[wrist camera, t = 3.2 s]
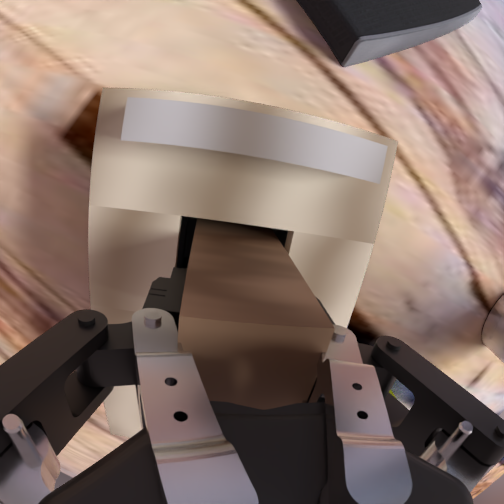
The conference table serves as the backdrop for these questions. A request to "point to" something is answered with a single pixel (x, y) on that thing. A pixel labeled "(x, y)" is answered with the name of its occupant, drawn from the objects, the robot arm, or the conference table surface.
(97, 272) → the lid
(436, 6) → the external hard drive
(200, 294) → the brown block
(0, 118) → the conference table surface
